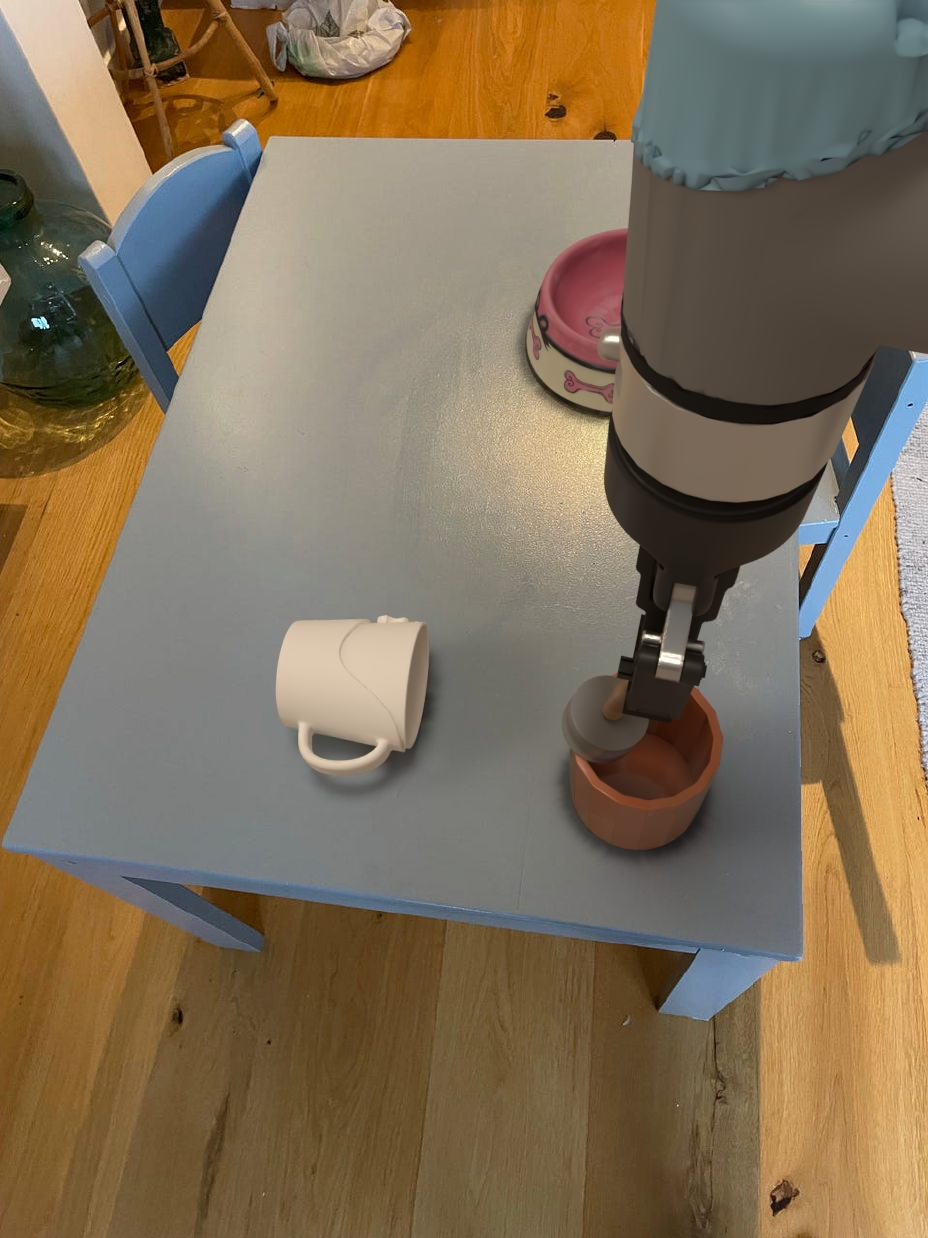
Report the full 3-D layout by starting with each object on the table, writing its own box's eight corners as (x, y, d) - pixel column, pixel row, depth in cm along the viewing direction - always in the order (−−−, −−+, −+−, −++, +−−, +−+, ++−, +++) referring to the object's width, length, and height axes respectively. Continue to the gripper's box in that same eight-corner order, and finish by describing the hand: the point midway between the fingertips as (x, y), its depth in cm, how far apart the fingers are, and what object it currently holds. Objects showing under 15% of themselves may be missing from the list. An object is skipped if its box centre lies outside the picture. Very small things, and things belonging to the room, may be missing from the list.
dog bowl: (513, 287, 91) (510, 228, 85) (702, 260, 91) (712, 199, 85) (540, 433, 82) (538, 379, 76) (749, 404, 82) (764, 348, 76)
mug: (319, 640, 74) (294, 591, 67) (434, 649, 73) (420, 600, 66) (286, 784, 69) (255, 746, 62) (409, 797, 68) (392, 760, 61)
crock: (708, 740, 68) (730, 684, 59) (690, 863, 64) (711, 823, 55) (583, 715, 69) (587, 657, 61) (558, 833, 65) (558, 790, 57)
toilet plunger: (642, 703, 59) (783, 538, 40) (628, 773, 57) (771, 634, 38) (570, 682, 59) (677, 507, 40) (554, 751, 57) (659, 601, 38)
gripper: (644, 260, 35) (607, 574, 56) (569, 582, 29) (558, 802, 50) (850, 283, 34) (733, 597, 55) (817, 627, 28) (700, 834, 48)
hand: (650, 694), depth 52 cm, fingers closed on toilet plunger, 1 cm apart
